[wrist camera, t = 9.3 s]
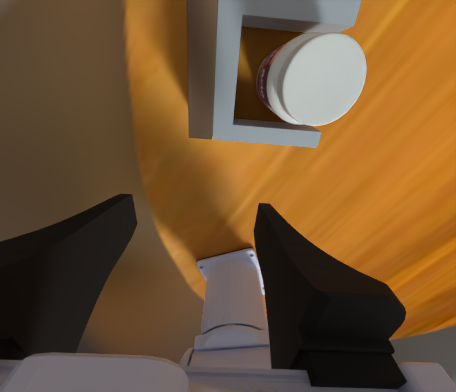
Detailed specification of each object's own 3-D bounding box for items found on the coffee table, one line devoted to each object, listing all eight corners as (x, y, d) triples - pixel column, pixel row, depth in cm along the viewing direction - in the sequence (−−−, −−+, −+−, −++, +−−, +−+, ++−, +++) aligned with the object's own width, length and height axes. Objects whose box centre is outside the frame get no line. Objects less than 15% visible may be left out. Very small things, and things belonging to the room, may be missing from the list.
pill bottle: (270, 35, 16) (308, -3, 8) (323, 62, 16) (399, 48, 9) (246, 99, 18) (258, 113, 11) (293, 119, 19) (335, 146, 11)
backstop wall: (221, -7, 14) (218, -44, 10) (215, 125, 19) (211, 139, 15) (198, -9, 14) (185, -48, 10) (197, 124, 19) (188, 137, 14)
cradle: (337, 13, 15) (362, -1, 12) (304, 137, 19) (317, 147, 17) (220, 1, 15) (219, -17, 12) (214, 130, 19) (212, 139, 16)
